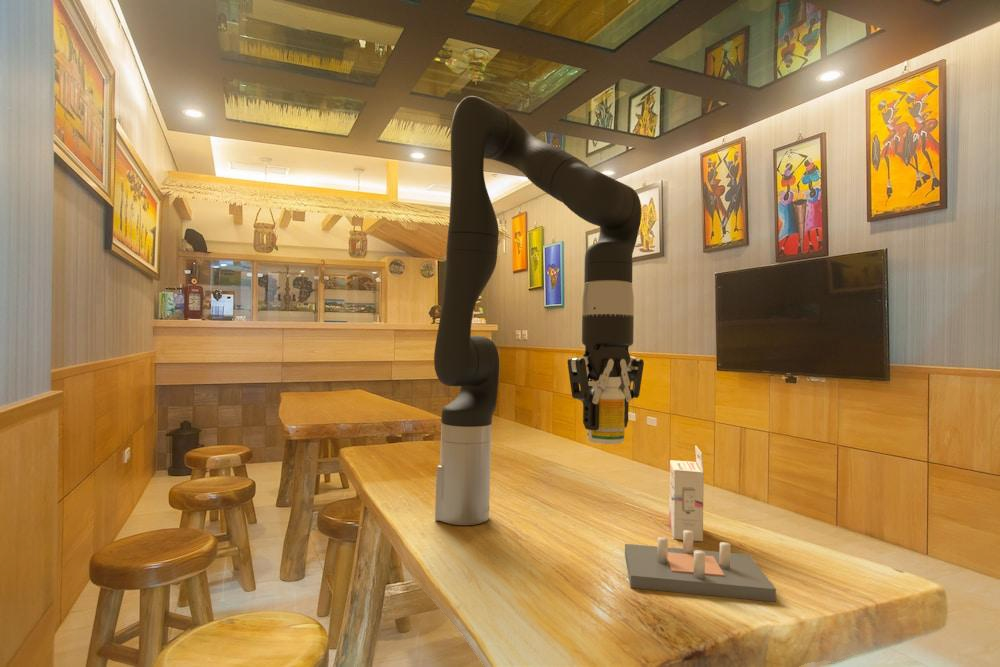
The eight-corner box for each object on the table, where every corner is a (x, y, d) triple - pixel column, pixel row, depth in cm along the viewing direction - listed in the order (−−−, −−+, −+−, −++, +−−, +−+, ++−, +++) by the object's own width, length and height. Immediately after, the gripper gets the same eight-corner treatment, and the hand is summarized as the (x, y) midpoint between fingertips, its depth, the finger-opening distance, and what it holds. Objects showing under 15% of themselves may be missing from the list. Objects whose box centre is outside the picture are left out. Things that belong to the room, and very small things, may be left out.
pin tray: (630, 587, 73) (631, 551, 73) (624, 554, 84) (625, 522, 85) (775, 601, 70) (776, 563, 70) (748, 565, 82) (749, 532, 82)
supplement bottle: (580, 439, 82) (581, 375, 83) (612, 438, 84) (612, 375, 85) (599, 445, 77) (599, 377, 78) (631, 444, 79) (632, 377, 79)
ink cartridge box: (667, 523, 100) (669, 443, 101) (695, 526, 99) (697, 444, 100) (672, 539, 92) (674, 451, 92) (703, 542, 91) (705, 453, 91)
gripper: (590, 309, 74) (589, 435, 74) (659, 315, 83) (658, 428, 82) (554, 312, 80) (552, 428, 80) (621, 317, 89) (620, 422, 88)
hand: (606, 427), depth 81 cm, fingers closed on supplement bottle, 5 cm apart
